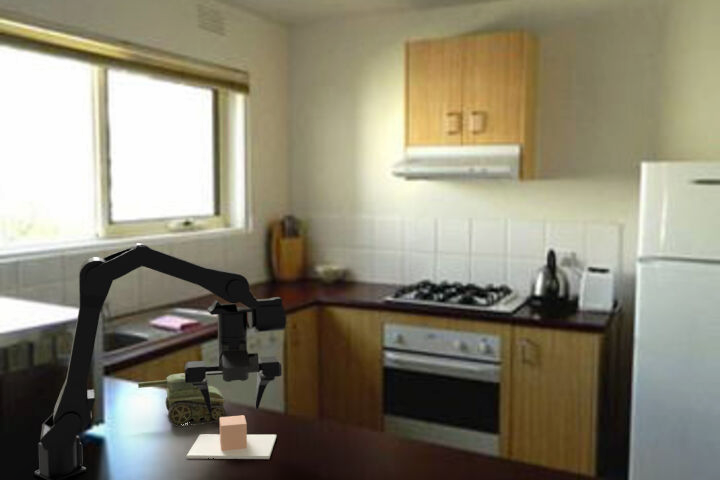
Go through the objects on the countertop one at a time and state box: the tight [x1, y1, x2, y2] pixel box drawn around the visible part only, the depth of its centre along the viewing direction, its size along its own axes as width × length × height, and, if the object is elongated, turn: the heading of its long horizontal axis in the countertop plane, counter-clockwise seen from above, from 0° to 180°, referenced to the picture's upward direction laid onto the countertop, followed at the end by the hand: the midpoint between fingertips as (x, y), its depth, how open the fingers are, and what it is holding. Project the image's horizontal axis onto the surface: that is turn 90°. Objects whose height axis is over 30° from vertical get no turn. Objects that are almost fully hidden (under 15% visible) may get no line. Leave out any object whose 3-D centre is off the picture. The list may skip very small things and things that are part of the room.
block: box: [219, 414, 248, 451], centre depth 136 cm, size 5×5×5 cm
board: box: [186, 433, 277, 460], centre depth 136 cm, size 16×11×1 cm
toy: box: [137, 372, 227, 427], centre depth 152 cm, size 10×18×10 cm, turn 110°
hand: (233, 410), depth 135 cm, fingers open, 9 cm apart
